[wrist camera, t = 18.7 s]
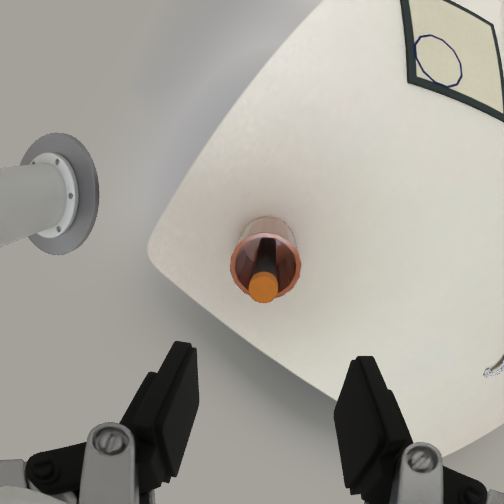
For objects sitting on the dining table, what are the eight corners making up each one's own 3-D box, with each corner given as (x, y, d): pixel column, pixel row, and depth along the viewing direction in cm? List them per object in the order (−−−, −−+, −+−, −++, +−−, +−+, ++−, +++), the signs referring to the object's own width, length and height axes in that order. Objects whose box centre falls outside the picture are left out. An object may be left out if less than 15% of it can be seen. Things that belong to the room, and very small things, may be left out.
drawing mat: (407, 82, 25) (410, 81, 24) (396, -20, 20) (398, -22, 19) (504, 122, 24) (508, 122, 23) (491, 25, 19) (493, 24, 18)
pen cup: (239, 265, 32) (228, 295, 25) (242, 213, 31) (232, 229, 23) (291, 270, 32) (295, 302, 25) (297, 219, 30) (304, 236, 23)
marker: (257, 252, 31) (247, 302, 20) (259, 234, 31) (249, 275, 19) (276, 253, 31) (276, 304, 20) (277, 235, 31) (279, 277, 19)
